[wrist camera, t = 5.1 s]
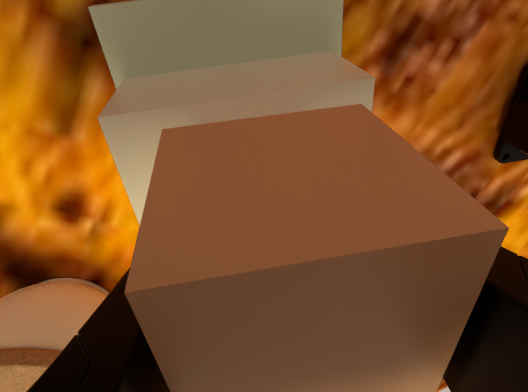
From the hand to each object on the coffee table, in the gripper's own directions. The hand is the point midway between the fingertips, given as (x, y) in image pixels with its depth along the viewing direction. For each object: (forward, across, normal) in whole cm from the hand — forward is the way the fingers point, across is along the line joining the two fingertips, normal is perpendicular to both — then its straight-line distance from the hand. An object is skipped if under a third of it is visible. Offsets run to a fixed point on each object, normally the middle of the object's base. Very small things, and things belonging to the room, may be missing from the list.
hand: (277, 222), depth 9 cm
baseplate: (+11, 0, +1) cm, 11 cm away
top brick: (+1, 0, 0) cm, 1 cm away
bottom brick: (+10, 0, +1) cm, 10 cm away
